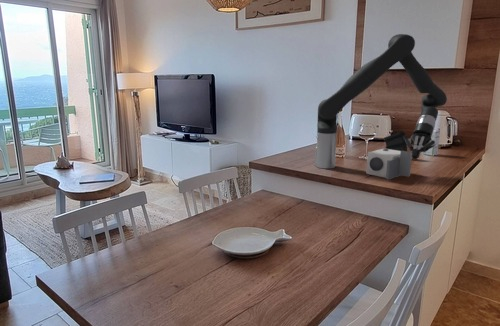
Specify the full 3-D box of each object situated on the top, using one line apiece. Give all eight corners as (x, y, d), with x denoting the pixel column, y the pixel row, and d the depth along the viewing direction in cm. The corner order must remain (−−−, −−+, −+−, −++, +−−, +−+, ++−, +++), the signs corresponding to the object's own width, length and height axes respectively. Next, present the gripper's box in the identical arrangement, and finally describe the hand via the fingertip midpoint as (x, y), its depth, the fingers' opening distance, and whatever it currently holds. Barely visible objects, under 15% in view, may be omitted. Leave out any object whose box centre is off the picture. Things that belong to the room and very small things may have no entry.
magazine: (409, 158, 184) (400, 131, 186) (388, 164, 194) (380, 139, 197) (413, 157, 186) (404, 130, 188) (392, 163, 197) (384, 138, 199)
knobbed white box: (364, 174, 159) (366, 150, 156) (382, 168, 168) (383, 146, 166) (389, 179, 149) (391, 154, 147) (406, 173, 159) (408, 150, 157)
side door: (385, 178, 147) (387, 153, 144) (397, 174, 153) (399, 150, 150) (398, 181, 142) (400, 155, 140) (409, 177, 149) (412, 152, 146)
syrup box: (437, 155, 199) (440, 129, 195) (432, 156, 195) (435, 130, 192) (427, 153, 203) (430, 128, 200) (422, 154, 200) (425, 129, 196)
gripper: (408, 121, 159) (397, 151, 153) (440, 122, 151) (429, 154, 145) (410, 131, 164) (400, 160, 158) (441, 133, 156) (431, 164, 150)
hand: (414, 157), depth 151 cm, fingers closed
